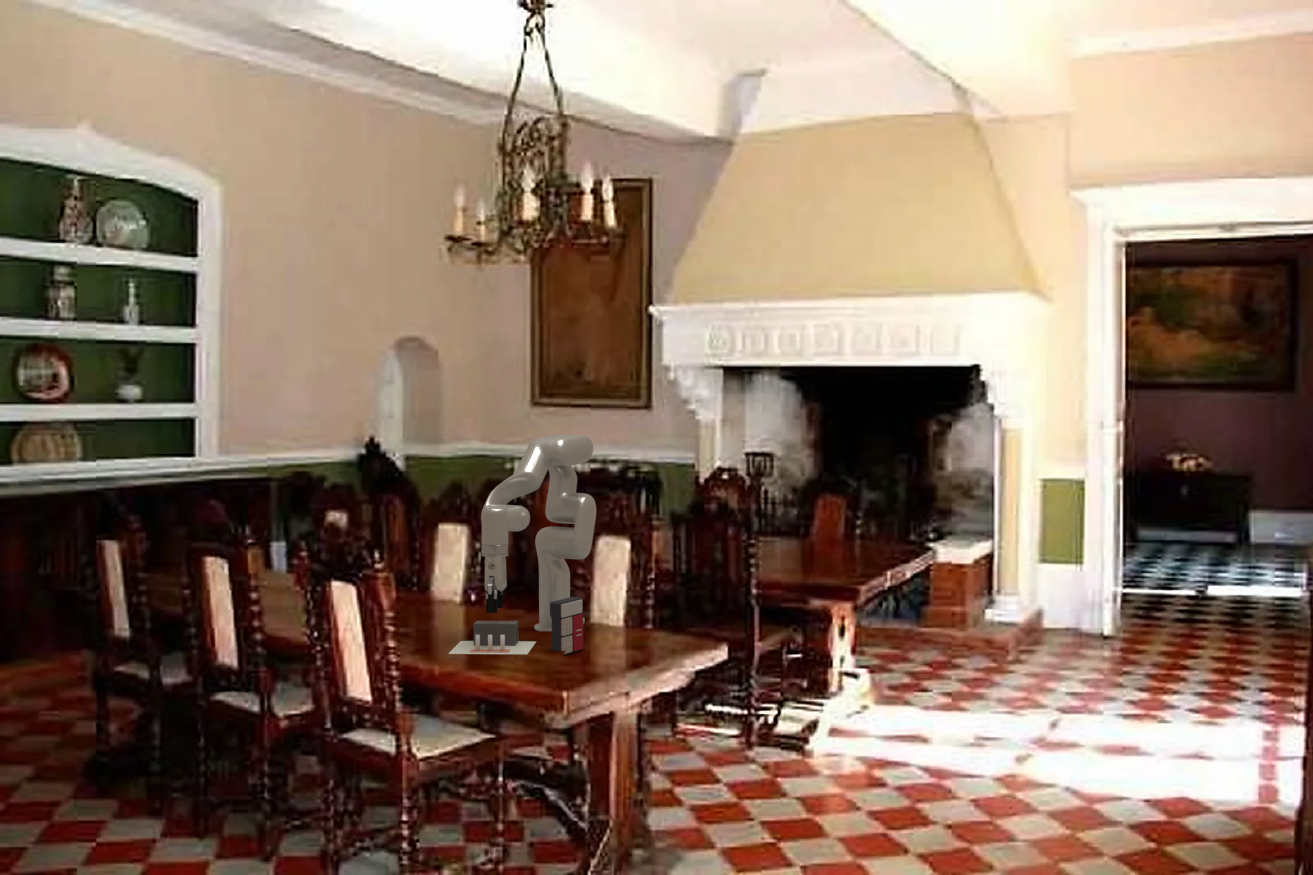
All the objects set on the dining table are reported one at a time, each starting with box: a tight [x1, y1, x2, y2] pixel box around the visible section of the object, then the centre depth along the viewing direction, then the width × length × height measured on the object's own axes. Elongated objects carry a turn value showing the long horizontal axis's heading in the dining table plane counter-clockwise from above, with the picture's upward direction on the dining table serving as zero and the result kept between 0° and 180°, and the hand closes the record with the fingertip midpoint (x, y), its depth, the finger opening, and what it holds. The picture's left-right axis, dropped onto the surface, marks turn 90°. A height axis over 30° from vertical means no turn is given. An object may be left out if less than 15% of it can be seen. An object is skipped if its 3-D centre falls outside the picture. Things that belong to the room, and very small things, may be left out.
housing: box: [473, 620, 519, 646], centre depth 398 cm, size 12×5×6 cm, turn 87°
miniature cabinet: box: [550, 596, 584, 656], centre depth 393 cm, size 11×4×15 cm, turn 148°
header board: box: [448, 635, 537, 661], centre depth 394 cm, size 22×18×6 cm
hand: (494, 610), depth 397 cm, fingers open, 9 cm apart
